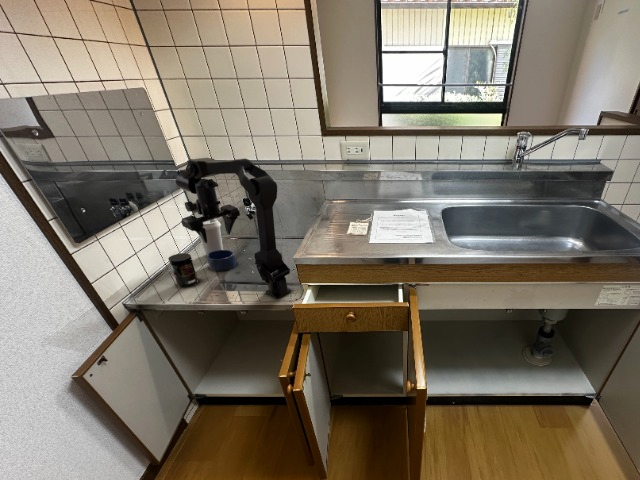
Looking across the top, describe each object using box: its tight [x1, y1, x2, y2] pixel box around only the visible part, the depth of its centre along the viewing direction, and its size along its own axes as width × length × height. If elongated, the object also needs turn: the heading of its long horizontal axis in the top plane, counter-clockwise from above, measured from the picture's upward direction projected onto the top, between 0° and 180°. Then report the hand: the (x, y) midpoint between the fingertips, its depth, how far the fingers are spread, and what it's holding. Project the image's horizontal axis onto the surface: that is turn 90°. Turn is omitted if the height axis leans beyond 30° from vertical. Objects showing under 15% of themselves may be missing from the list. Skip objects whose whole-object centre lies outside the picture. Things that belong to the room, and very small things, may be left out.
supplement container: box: [167, 252, 199, 288], centre depth 115 cm, size 7×7×10 cm
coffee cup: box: [198, 218, 224, 256], centre depth 135 cm, size 10×10×15 cm
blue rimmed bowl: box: [206, 249, 237, 272], centre depth 130 cm, size 10×10×5 cm
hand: (217, 238), depth 119 cm, fingers open, 9 cm apart
